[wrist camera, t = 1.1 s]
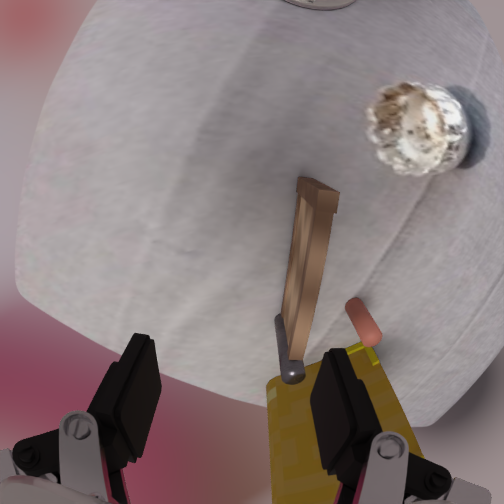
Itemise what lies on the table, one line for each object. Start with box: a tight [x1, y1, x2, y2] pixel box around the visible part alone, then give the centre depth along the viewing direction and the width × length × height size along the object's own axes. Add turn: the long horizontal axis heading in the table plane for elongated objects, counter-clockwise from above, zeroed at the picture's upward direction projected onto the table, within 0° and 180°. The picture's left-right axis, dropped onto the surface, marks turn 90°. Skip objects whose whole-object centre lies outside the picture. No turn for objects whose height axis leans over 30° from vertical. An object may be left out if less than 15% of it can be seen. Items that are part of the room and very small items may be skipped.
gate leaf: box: [281, 177, 340, 360], centre depth 26 cm, size 16×2×9 cm, turn 175°
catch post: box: [345, 298, 382, 347], centre depth 31 cm, size 2×2×7 cm
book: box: [266, 342, 425, 504], centre depth 27 cm, size 17×7×25 cm, turn 115°
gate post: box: [275, 313, 306, 385], centre depth 30 cm, size 2×2×10 cm
